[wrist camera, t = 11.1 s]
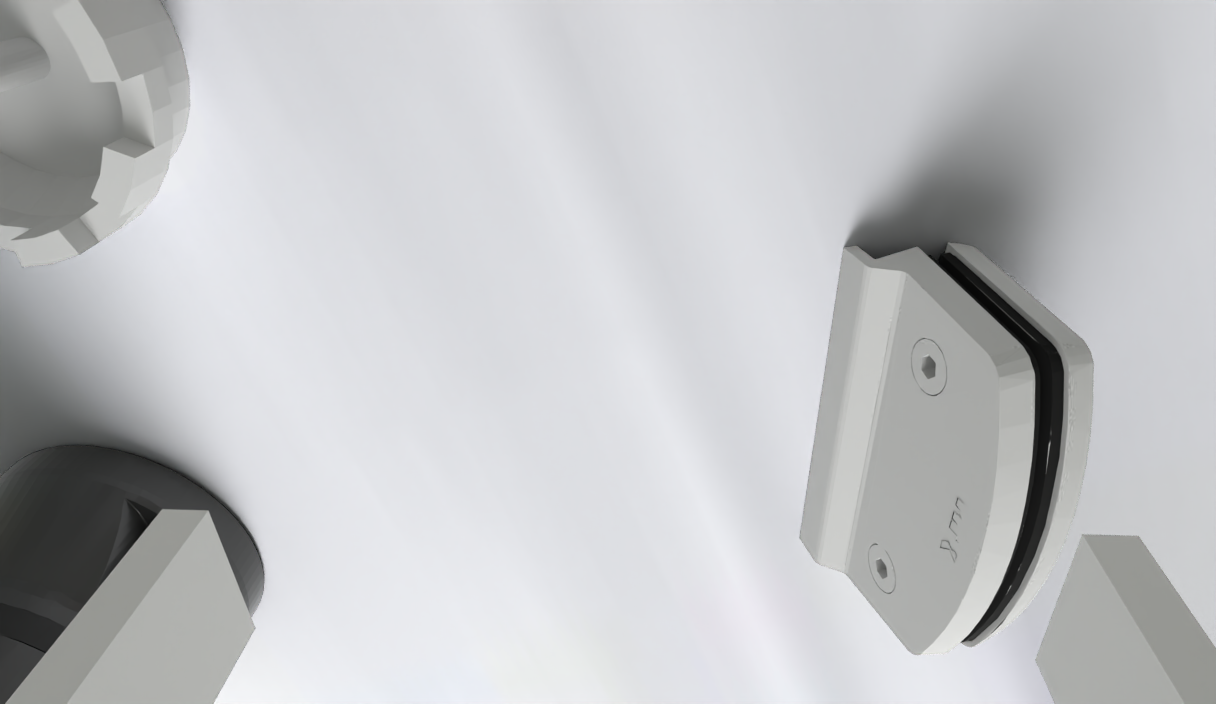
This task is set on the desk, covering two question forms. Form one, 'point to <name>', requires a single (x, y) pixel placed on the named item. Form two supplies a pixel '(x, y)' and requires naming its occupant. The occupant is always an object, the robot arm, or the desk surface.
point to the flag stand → (84, 120)
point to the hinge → (946, 443)
